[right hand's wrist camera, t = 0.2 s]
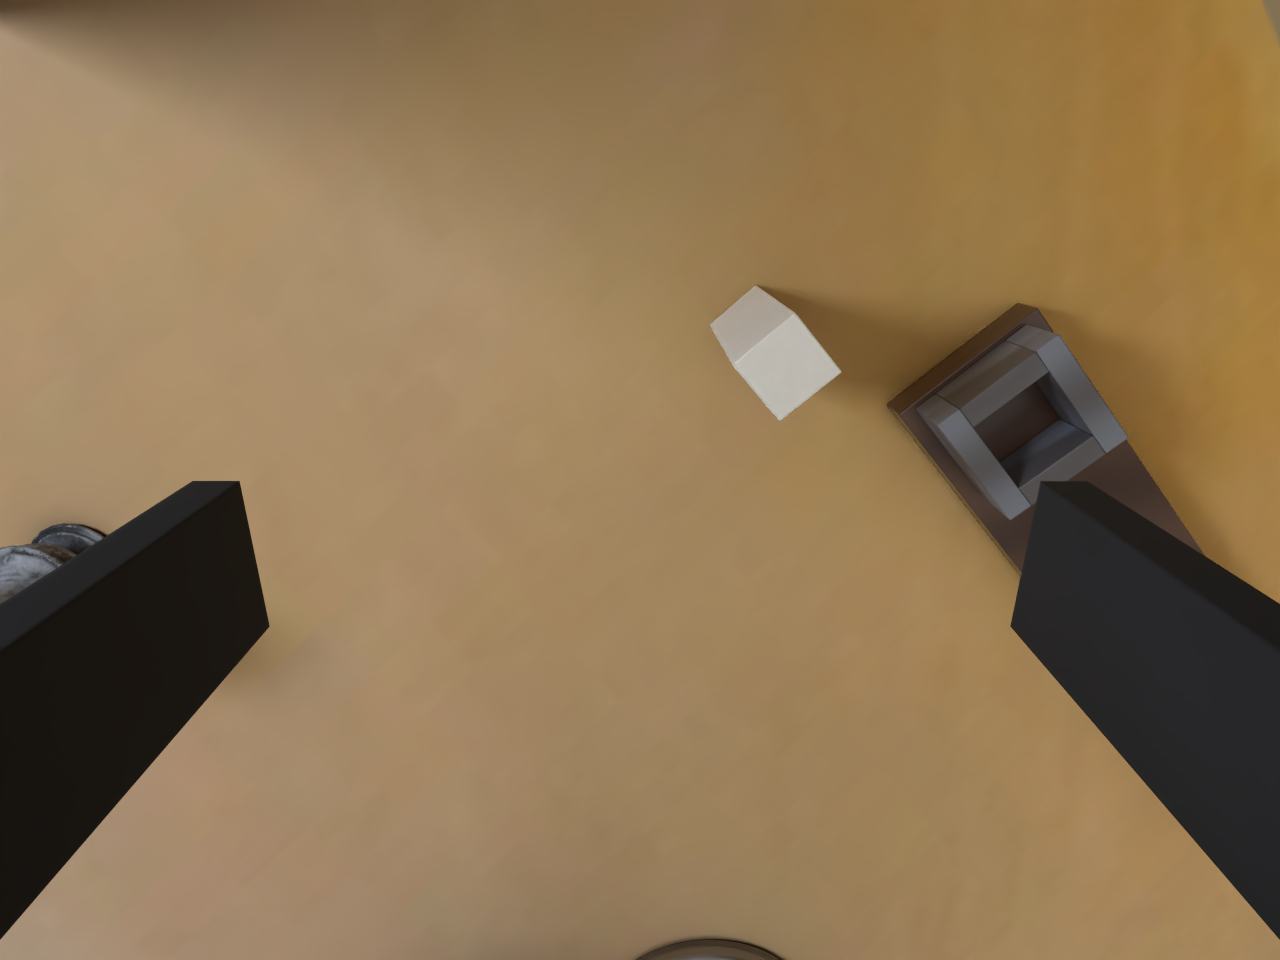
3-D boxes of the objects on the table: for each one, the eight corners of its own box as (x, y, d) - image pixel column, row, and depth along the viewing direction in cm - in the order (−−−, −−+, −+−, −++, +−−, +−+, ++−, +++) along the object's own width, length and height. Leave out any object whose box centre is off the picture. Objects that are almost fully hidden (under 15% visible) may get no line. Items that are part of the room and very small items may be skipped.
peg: (792, 330, 38) (842, 372, 28) (745, 368, 38) (780, 422, 29) (755, 284, 37) (795, 312, 28) (709, 324, 38) (732, 364, 28)
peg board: (1330, 760, 47) (1460, 864, 40) (1213, 824, 49) (1316, 935, 42) (1017, 302, 37) (1113, 327, 30) (885, 404, 39) (944, 452, 32)
